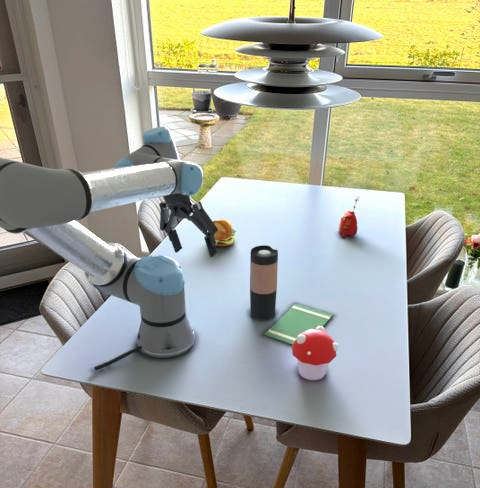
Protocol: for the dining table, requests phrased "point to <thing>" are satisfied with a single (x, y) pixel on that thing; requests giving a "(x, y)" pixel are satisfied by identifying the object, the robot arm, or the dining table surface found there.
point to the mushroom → (314, 353)
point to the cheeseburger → (224, 233)
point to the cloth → (297, 323)
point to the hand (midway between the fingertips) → (195, 252)
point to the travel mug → (263, 281)
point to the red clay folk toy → (348, 224)
